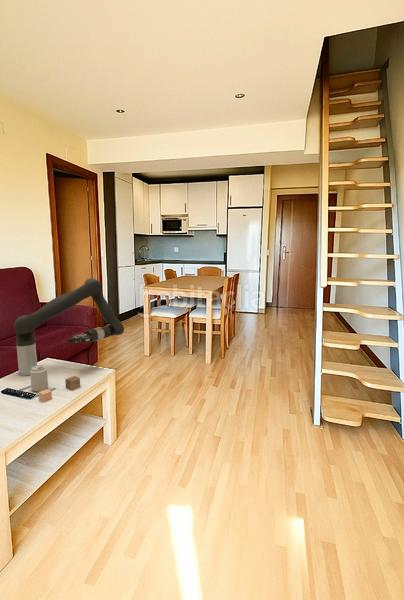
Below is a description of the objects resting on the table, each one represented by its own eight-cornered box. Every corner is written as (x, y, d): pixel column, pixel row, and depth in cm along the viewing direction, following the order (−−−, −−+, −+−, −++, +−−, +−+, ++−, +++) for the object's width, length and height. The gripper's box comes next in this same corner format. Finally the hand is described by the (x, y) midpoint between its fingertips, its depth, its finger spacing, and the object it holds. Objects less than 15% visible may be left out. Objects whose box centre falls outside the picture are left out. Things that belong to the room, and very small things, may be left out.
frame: (17, 390, 150) (17, 390, 150) (40, 382, 160) (40, 381, 160) (32, 398, 143) (32, 397, 143) (56, 389, 153) (55, 388, 153)
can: (42, 392, 149) (41, 370, 147) (28, 392, 149) (26, 369, 147) (51, 386, 156) (49, 364, 154) (37, 385, 156) (35, 363, 155)
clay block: (38, 400, 142) (38, 392, 141) (47, 396, 145) (46, 389, 144) (43, 402, 140) (43, 394, 139) (51, 399, 143) (51, 391, 142)
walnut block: (65, 388, 154) (65, 379, 154) (74, 384, 158) (74, 375, 158) (71, 390, 152) (71, 381, 151) (80, 387, 156) (79, 377, 155)
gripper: (87, 326, 181) (60, 332, 167) (101, 330, 174) (75, 336, 160) (87, 338, 183) (61, 345, 168) (102, 342, 176) (75, 350, 161)
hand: (68, 341), depth 164 cm, fingers closed
